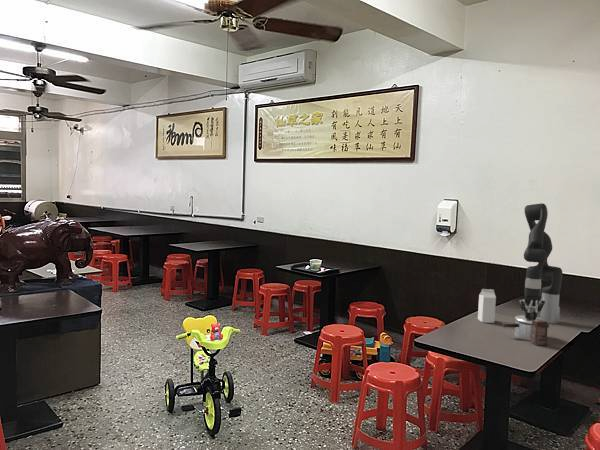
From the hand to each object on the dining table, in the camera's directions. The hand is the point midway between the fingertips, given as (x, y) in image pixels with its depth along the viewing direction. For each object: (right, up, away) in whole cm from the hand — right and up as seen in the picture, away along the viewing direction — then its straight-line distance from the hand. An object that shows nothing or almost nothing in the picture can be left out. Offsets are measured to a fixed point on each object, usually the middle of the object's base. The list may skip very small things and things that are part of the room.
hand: (530, 319), depth 243 cm
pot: (-3, -9, 0) cm, 10 cm away
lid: (0, -1, 0) cm, 1 cm away
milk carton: (-12, -7, +29) cm, 32 cm away
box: (-2, -11, -11) cm, 15 cm away
